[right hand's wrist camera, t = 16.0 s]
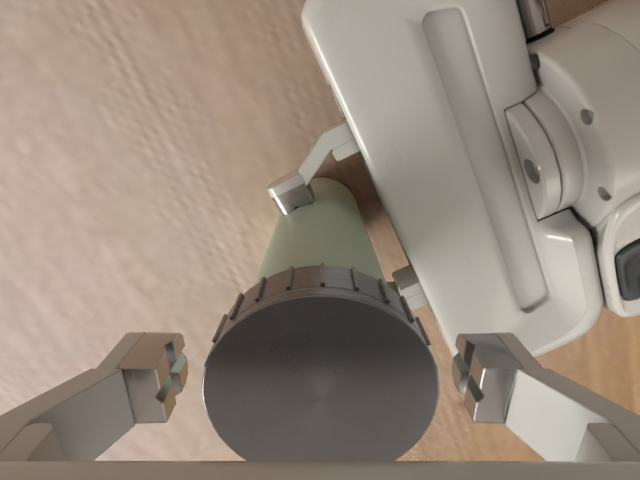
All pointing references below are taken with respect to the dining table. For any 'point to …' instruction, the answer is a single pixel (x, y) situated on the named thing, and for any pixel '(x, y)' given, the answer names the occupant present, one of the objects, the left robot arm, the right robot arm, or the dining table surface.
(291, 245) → the pale green tall cylinder
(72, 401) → the right robot arm
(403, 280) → the left robot arm
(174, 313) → the dining table surface
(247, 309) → the lid
